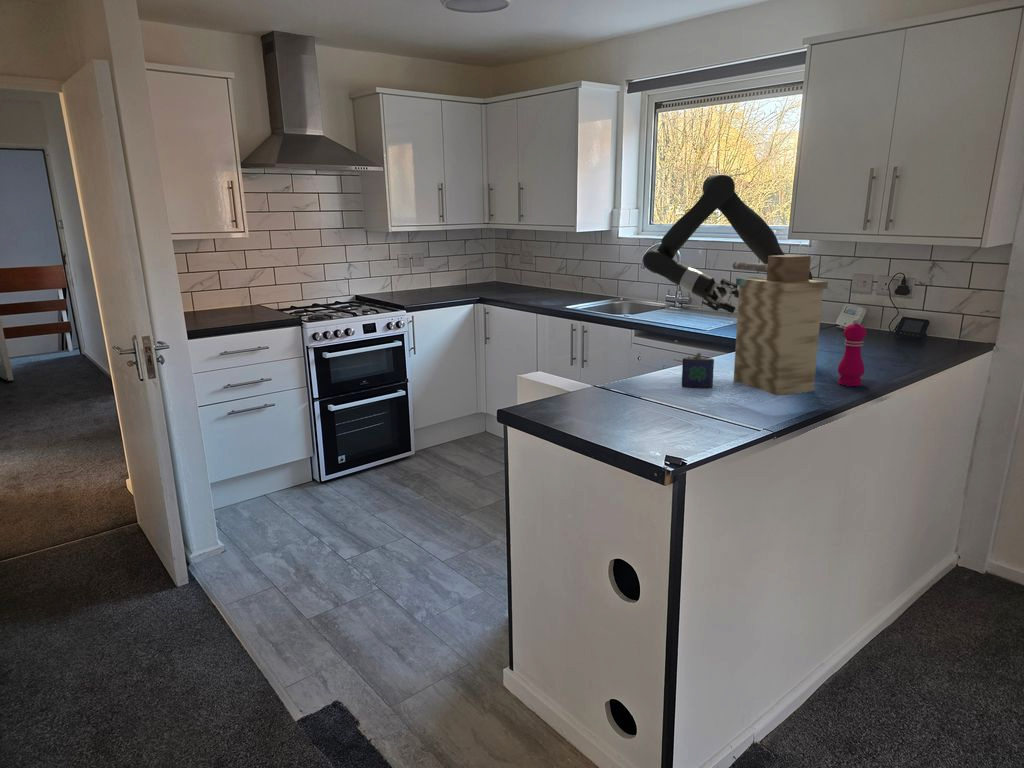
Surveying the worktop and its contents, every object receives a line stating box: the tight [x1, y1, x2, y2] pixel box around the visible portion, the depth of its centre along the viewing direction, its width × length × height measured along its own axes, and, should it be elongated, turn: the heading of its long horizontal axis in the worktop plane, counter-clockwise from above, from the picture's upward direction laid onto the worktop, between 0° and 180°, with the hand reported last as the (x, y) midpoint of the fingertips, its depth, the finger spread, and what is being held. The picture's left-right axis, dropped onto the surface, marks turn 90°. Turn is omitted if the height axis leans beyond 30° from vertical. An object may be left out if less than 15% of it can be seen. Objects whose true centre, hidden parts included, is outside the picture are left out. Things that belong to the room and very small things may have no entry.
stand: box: [733, 276, 829, 396], centre depth 195 cm, size 22×14×32 cm, turn 18°
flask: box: [681, 352, 715, 389], centre depth 198 cm, size 9×3×11 cm, turn 78°
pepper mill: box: [837, 318, 867, 387], centre depth 197 cm, size 7×7×20 cm
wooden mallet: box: [732, 254, 812, 282], centre depth 197 cm, size 28×8×7 cm, turn 18°
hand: (740, 304), depth 216 cm, fingers open, 8 cm apart
